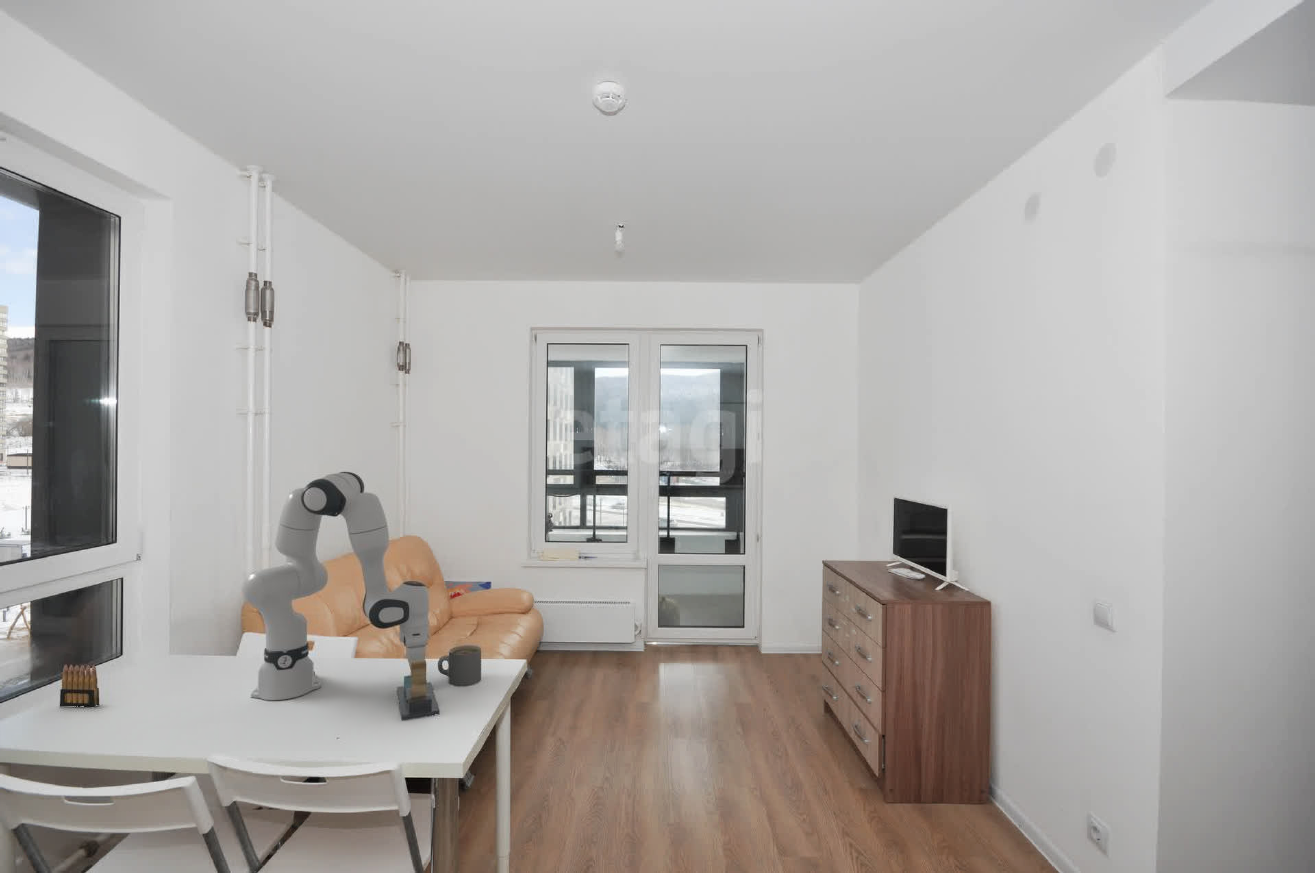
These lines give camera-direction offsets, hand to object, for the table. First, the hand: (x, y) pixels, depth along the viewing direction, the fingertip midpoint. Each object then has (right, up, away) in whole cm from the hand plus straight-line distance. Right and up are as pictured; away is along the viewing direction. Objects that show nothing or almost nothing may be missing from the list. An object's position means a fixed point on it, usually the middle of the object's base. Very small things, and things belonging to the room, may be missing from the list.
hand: (414, 677), depth 207 cm
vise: (+5, -3, -11) cm, 13 cm away
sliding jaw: (+3, -2, -7) cm, 8 cm away
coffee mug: (+12, -3, +6) cm, 14 cm away
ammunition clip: (-93, -3, -14) cm, 94 cm away
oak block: (+7, -2, -16) cm, 17 cm away
